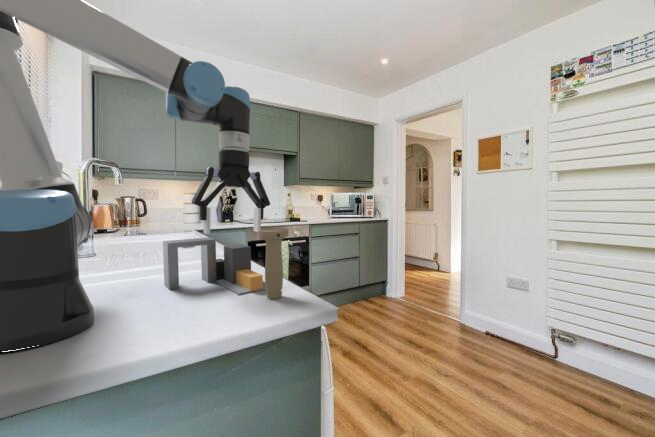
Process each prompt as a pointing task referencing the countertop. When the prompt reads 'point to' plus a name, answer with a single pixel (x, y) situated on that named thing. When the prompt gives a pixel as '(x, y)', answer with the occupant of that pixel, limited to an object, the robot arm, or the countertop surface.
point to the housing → (210, 264)
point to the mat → (237, 287)
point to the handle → (273, 261)
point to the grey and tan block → (241, 267)
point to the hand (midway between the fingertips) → (233, 232)
